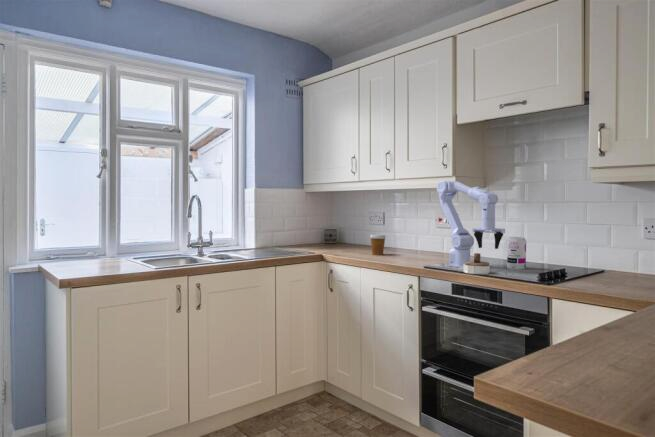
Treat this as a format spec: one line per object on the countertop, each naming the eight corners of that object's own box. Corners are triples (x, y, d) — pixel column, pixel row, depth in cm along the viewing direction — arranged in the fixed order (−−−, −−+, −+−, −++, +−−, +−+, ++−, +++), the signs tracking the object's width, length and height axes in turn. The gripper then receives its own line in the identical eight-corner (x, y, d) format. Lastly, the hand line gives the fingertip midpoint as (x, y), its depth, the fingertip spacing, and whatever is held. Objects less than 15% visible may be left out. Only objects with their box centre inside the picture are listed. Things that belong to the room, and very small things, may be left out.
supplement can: (524, 268, 222) (524, 236, 221) (526, 270, 214) (527, 238, 213) (506, 267, 224) (506, 236, 224) (508, 269, 216) (508, 237, 216)
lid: (460, 264, 207) (460, 253, 207) (472, 262, 214) (472, 251, 214) (481, 267, 199) (481, 255, 199) (493, 264, 206) (493, 253, 206)
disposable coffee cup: (371, 255, 270) (371, 235, 269) (368, 253, 279) (368, 234, 279) (387, 255, 271) (387, 235, 271) (383, 253, 280) (383, 234, 280)
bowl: (459, 273, 206) (459, 265, 205) (469, 270, 214) (469, 262, 214) (483, 275, 198) (483, 267, 198) (493, 272, 207) (493, 264, 207)
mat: (482, 271, 211) (482, 270, 211) (491, 268, 219) (491, 267, 219) (513, 274, 202) (513, 273, 202) (521, 271, 210) (521, 270, 210)
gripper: (469, 218, 214) (469, 248, 214) (501, 219, 204) (500, 249, 205) (476, 218, 219) (475, 246, 219) (506, 218, 210) (506, 248, 210)
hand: (488, 248), depth 212 cm, fingers open, 7 cm apart
